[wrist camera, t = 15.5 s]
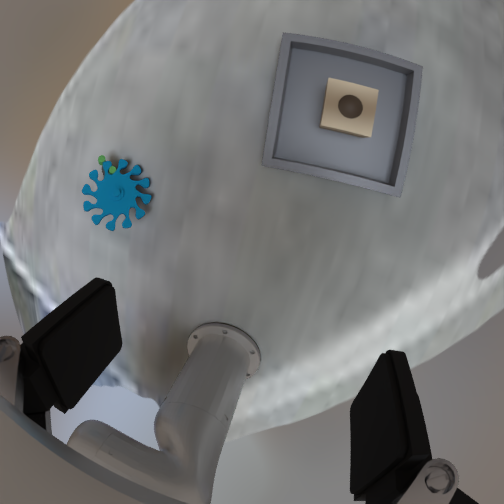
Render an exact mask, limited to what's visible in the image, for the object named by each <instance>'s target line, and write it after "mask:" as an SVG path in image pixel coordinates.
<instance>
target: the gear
mask: <svg viewBox="0 0 504 504" xmlns="http://www.w3.org/2000/svg"><path fill="white" fill-rule="evenodd" d="M98 161H99V164H100V165H102V172H103V175H104V179H103V180H102V181H99V180H98V179H97V178H98V171H97V170H93V171H92V172H90V173H89V177H90V179H92V180H93V181H95V183H96V184H97V187H98V189H97V191H95V192H92V191H91V188H90V186H89V185H88V184H85V185H84V187H83V189H82V193H83V194H84V195H92V196H94V197H95V198H96V199H97V203H96V204H91V203H90V202H89V201H85V202H84V205H83V206H84V211H90V210H91V209H94V208H100V209H102V210H103V213H102V214H101V215H93V216H92V221H93V222H94V224H95V225H98V224H99V223H100V221H101V220H102V218H104V217H105V216H107V215H109V214H111V215H113V217H114V218H113V220H112V221H110V222H108V223H107V224H106V228H107V229H108V230H111V231H114V229H115V222H116V219H117V218H118V216H119V215H120V214H124V215H125V216H126V219H125V220H124V221H123V223H122V226H123V228H130V227H131V226H132V223H131V221H130V219H129V209H130V208H132V207H133V208H135V209H136V218H137V219H140V218H142V217H143V216H144V215H145V211H144V210H142V209H140V208H139V207H138V205H137V203H136V201H135V198H136V197H140V198H141V199H142V201H143V203H144V204H146V205H147V204H148V203H149V202H150V200H151V197H152V196H151V195H149V194H142V193H140V192H139V191H137V190H136V188H135V187H136V186H137V185H140V186H142V187H143V188H148V187H149V179H148V178H144V179H143V180H140V181H134V180H131V179H130V176H131V175H140V174H141V169H140V167H139V166H138V165H135V166H134V167H133V169H132V170H131V171H130V172H129V173H126V174H123V175H122V174H120V170H122V169H124V168H126V167H127V164H128V162H127V161H125V160H123V159H120V160H119V164H118V168H117V170H116V167H114V166H112V163H111V161H106V162H105V156H103V155H101V156H99V158H98Z"/></svg>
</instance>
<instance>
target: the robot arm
mask: <svg viewBox="0 0 504 504" xmlns="http://www.w3.org/2000/svg"><path fill="white" fill-rule="evenodd" d="M21 338H22V341H23V343H22V344H21V345H20V343H19V341H18V340H17V339H16V338H14V337H12V336H2V337H0V504H210V503H211V497H212V490H213V483H214V477H215V473H216V468H217V464H218V460H219V457H220V454H221V451H222V447H223V444H224V441H225V438H226V435H227V433H228V430H229V427H230V424H231V421H232V418H233V415H234V412H235V409H236V405H237V402H238V399H239V396H240V393H241V390H242V387H243V384H244V381H245V380H246V379H248V378H250V377H251V376H252V375H254V374H255V373H256V371H257V370H258V367H259V364H260V352H259V349H258V347H257V345H256V343H255V342H254V341H253V340H252V339H251V338H250V337H249V336H248V335H247V334H246V333H244V332H242V331H241V330H239V329H237V328H235V327H233V326H229V325H226V324H220V323H210V324H204V325H202V326H199V327H198V328H196V329H195V330H194V331H193V332H192V334H191V335H190V337H189V339H188V342H187V350H188V354H189V358H188V360H187V361H186V363H185V365H184V367H183V368H182V370H181V372H180V374H179V375H178V377H177V379H176V381H175V382H174V384H173V386H172V388H171V389H170V391H169V393H168V395H167V396H166V398H165V400H164V402H163V404H162V406H161V407H160V409H159V411H158V412H157V415H156V417H155V421H154V432H155V436H156V440H157V443H158V446H159V449H160V451H158V450H156V449H153V448H151V447H148V446H146V445H144V444H142V443H140V442H138V441H136V440H134V439H133V438H131V437H129V436H127V435H125V434H124V433H122V432H120V431H118V430H116V429H115V428H113V427H111V426H109V425H107V424H105V423H103V422H101V421H98V420H87V421H84V422H83V423H81V424H80V425H79V426H78V427H77V428H76V429H75V430H74V432H73V433H72V435H71V436H70V438H69V441H68V442H67V445H66V444H64V443H63V442H61V441H60V440H59V439H57V438H55V437H54V436H53V435H52V430H51V419H50V418H51V417H50V408H51V407H52V406H53V405H54V407H55V408H57V409H58V410H60V411H62V412H63V413H64V414H65V413H66V412H67V411H68V409H72V408H74V406H75V405H76V404H77V403H78V402H79V400H80V399H81V398H82V397H83V395H84V394H85V393H86V392H87V390H88V389H89V388H90V387H91V385H92V384H93V383H94V382H95V380H96V379H97V378H98V377H99V376H100V374H101V373H102V372H103V371H104V369H105V368H106V367H107V366H108V365H109V363H110V362H111V361H112V360H113V359H114V357H115V356H116V355H117V354H118V353H119V351H120V350H121V347H122V338H121V332H120V325H119V318H118V311H117V303H116V295H115V289H114V287H112V284H111V282H109V281H106V280H104V279H101V278H94V279H93V280H92V281H90V282H89V283H88V284H86V285H85V286H84V287H82V288H81V289H80V290H78V291H77V292H76V293H75V294H73V295H72V296H71V297H69V298H68V299H67V300H66V301H64V302H63V303H62V304H61V305H59V306H58V307H57V308H55V309H54V310H53V311H52V312H51V313H49V314H48V315H47V316H46V317H44V318H43V319H42V320H41V321H40V322H38V323H37V324H36V325H35V326H34V327H32V328H31V329H30V330H29V331H28V332H27V333H25V334H24V335H23V336H22V337H21ZM350 430H351V468H350V492H351V494H354V501H366V504H478V503H477V502H476V501H475V500H473V499H472V498H470V497H469V496H468V495H466V494H465V493H464V492H462V491H461V490H460V489H458V488H457V486H458V482H459V475H458V471H457V469H456V468H455V466H454V465H453V464H452V463H451V462H449V461H447V460H445V459H440V458H437V459H432V455H431V449H430V445H429V439H428V434H427V430H426V425H425V421H424V416H423V412H422V408H421V404H420V400H419V396H418V394H417V392H416V389H415V385H414V381H413V378H412V374H411V371H410V367H409V364H408V360H407V357H406V354H405V353H404V352H401V351H394V350H388V351H386V353H385V354H384V353H382V354H381V355H380V356H379V358H378V360H377V362H376V364H375V366H374V367H373V369H372V371H371V373H370V374H369V376H368V378H367V380H366V381H365V383H364V385H363V386H362V388H361V390H360V391H359V393H358V395H357V396H356V398H355V399H354V401H353V403H352V405H351V408H350Z"/></svg>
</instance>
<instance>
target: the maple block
mask: <svg viewBox="0 0 504 504" xmlns="http://www.w3.org/2000/svg"><path fill="white" fill-rule="evenodd" d="M378 92H379V90H377V89H374V88H370V87H366V86H363V85H359V84H355V83H351V82H347V81H342V80H338V79H333V78H328V82H327V86H326V90H325V97H324V103H323V109H322V115H321V121H320V127H319V128H322V129H327V130H331V131H335V132H340V133H344V134H348V135H352V136H356V137H360V138H368V137H371V135H372V130H373V124H374V118H375V112H376V105H377V99H378Z"/></svg>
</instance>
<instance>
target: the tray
mask: <svg viewBox="0 0 504 504" xmlns="http://www.w3.org/2000/svg"><path fill="white" fill-rule="evenodd" d="M422 69H423V66H420V65H418V64H415V63H412V62H409V61H407V60H404V59H401V58H398V57H395V56H392V55H389V54H385V53H382V52H379V51H375V50H372V49H368V48H364V47H360V46H356V45H352V44H348V43H344V42H339V41H334V40H329V39H324V38H318V37H312V36H306V35H299V34H291V33H283V35H282V41H281V47H280V53H279V60H278V66H277V72H276V78H275V84H274V90H273V97H272V103H271V109H270V115H269V122H268V128H267V134H266V140H265V147H264V153H263V159H262V166H266V167H272V168H277V169H283V170H288V171H293V172H298V173H303V174H308V175H312V176H317V177H321V178H326V179H330V180H335V181H339V182H343V183H347V184H351V185H355V186H359V187H363V188H367V189H371V190H375V191H378V192H382V193H385V194H389V195H393V196H396V197H401V193H402V189H403V185H404V181H405V177H406V172H407V168H408V163H409V158H410V153H411V148H412V143H413V137H414V132H415V126H416V119H417V113H418V105H419V98H420V89H421V80H422ZM328 78H333V79H338V80H342V81H347V82H351V83H355V84H359V85H363V86H366V87H370V88H374V89H377V90H379V92H378V99H377V105H376V112H375V118H374V124H373V130H372V135H371V137H368V138H360V137H356V136H352V135H348V134H344V133H340V132H335V131H331V130H327V129H322V128H319V127H320V121H321V115H322V109H323V103H324V97H325V90H326V86H327V82H328Z"/></svg>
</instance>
